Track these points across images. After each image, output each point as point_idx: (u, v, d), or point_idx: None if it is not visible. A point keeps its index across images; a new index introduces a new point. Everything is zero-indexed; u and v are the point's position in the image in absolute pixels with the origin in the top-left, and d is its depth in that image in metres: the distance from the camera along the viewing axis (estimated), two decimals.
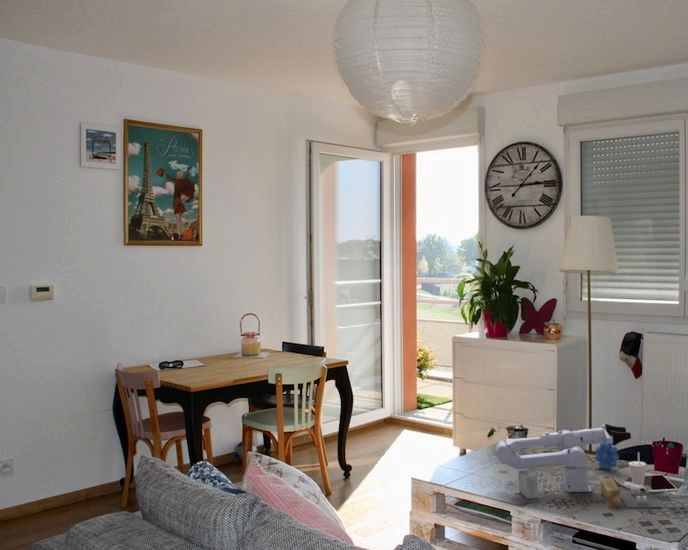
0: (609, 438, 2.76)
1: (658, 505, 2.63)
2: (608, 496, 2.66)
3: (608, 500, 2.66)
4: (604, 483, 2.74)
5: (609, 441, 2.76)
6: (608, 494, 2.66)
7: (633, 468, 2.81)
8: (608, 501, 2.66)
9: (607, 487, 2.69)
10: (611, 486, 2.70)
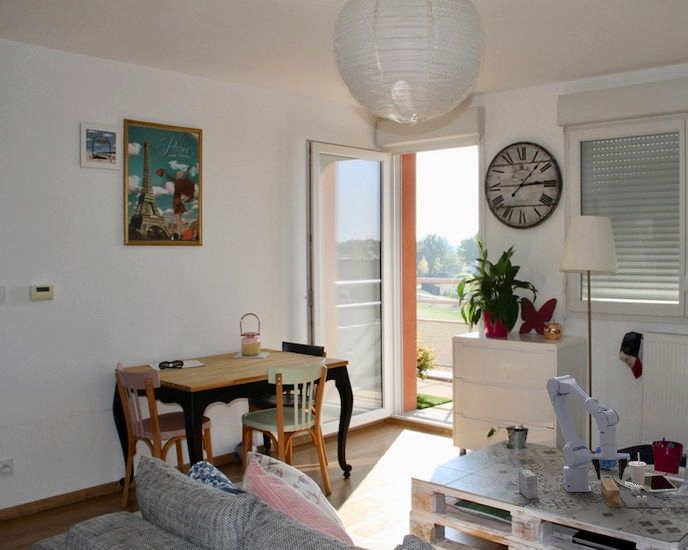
0: (589, 457, 2.72)
1: (658, 505, 2.63)
2: (608, 496, 2.66)
3: (608, 500, 2.66)
4: (604, 483, 2.74)
5: (588, 456, 2.73)
6: (608, 494, 2.66)
7: (633, 468, 2.81)
8: (608, 501, 2.66)
9: (607, 487, 2.69)
10: (611, 486, 2.70)
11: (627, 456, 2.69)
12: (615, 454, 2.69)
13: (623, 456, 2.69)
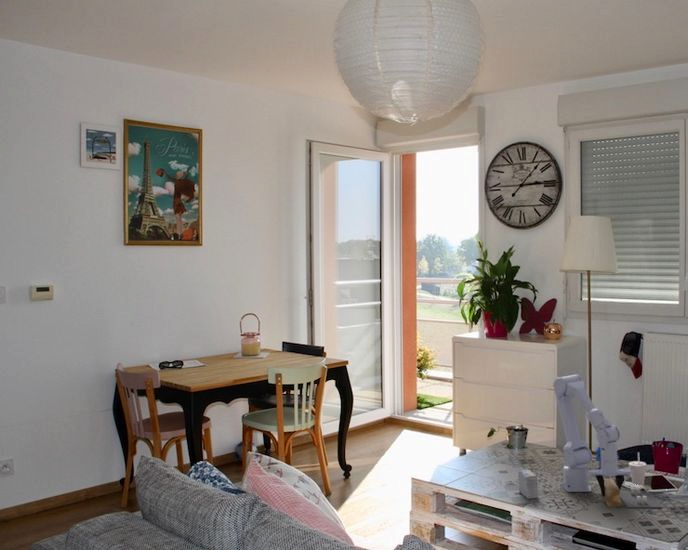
0: (589, 473, 2.72)
1: (658, 505, 2.63)
2: (608, 496, 2.66)
3: (608, 500, 2.66)
4: (604, 482, 2.74)
5: None
6: (608, 494, 2.66)
7: (633, 468, 2.81)
8: (608, 501, 2.66)
9: (607, 487, 2.69)
10: (611, 486, 2.70)
11: (628, 472, 2.69)
12: (616, 470, 2.69)
13: (624, 472, 2.69)
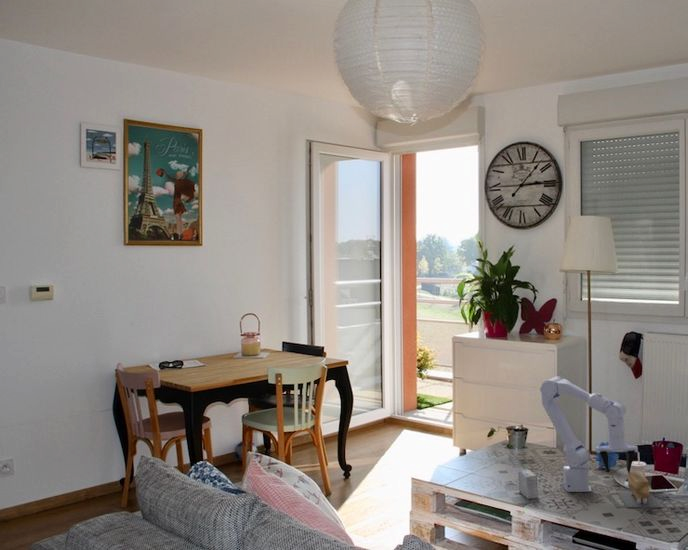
0: (597, 449, 2.76)
1: (658, 505, 2.63)
2: (637, 487, 2.64)
3: (637, 491, 2.65)
4: (632, 474, 2.72)
5: (596, 448, 2.77)
6: (637, 485, 2.64)
7: (633, 468, 2.81)
8: (637, 492, 2.65)
9: (635, 478, 2.67)
10: (639, 478, 2.68)
11: (635, 448, 2.74)
12: (623, 446, 2.73)
13: (631, 448, 2.73)
